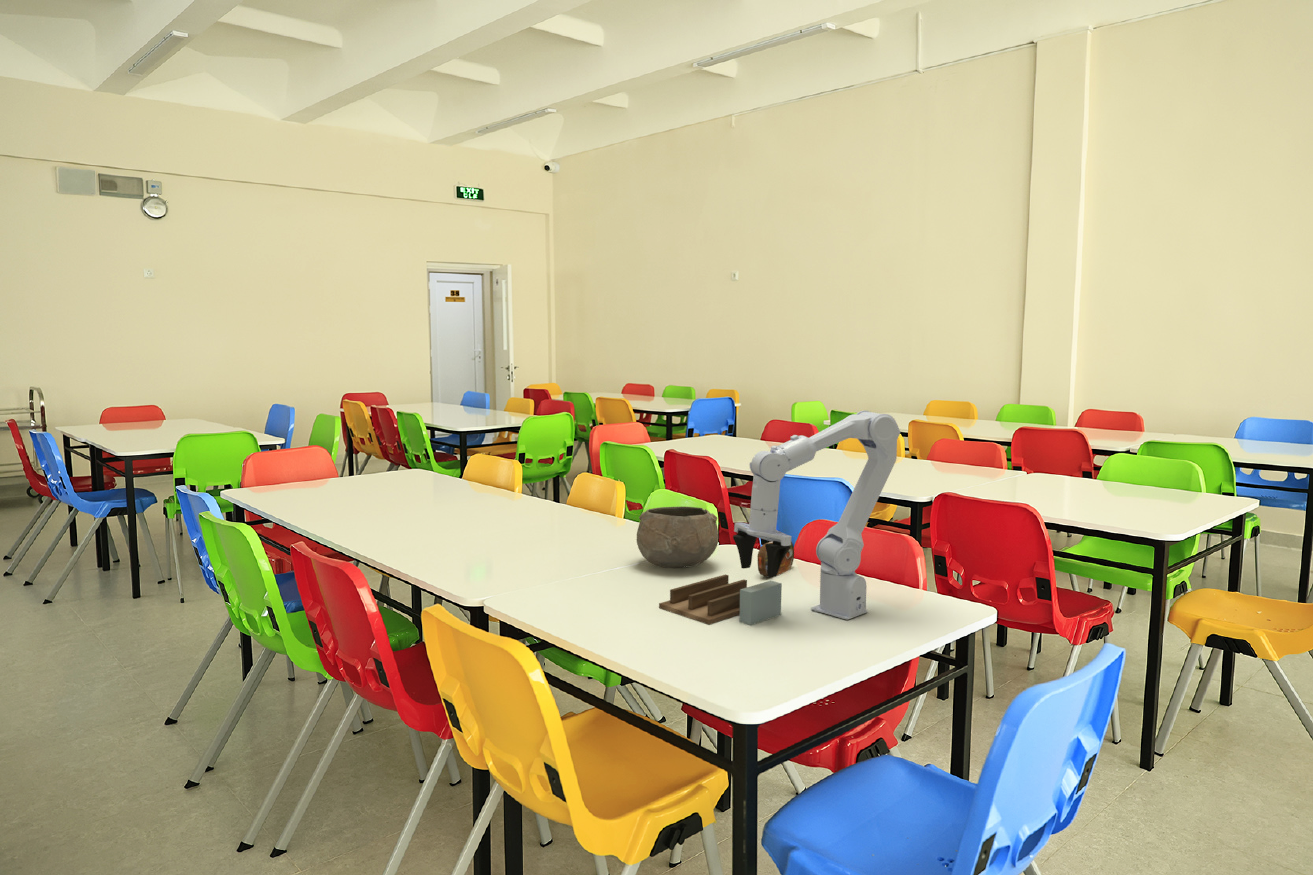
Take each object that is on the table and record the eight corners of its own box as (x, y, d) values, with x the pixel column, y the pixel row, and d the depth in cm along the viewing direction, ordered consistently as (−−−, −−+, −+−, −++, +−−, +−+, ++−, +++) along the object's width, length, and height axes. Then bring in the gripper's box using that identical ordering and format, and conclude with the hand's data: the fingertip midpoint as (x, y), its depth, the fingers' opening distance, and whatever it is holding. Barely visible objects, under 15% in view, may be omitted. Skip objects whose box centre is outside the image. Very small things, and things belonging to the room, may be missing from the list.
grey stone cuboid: (780, 615, 182) (781, 583, 181) (750, 625, 175) (751, 592, 174) (769, 611, 184) (770, 580, 183) (739, 622, 177) (740, 589, 176)
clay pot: (620, 565, 221) (620, 508, 219) (678, 552, 234) (678, 499, 233) (676, 583, 205) (676, 521, 203) (734, 567, 219) (735, 510, 217)
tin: (765, 581, 207) (766, 547, 206) (754, 578, 209) (755, 545, 208) (795, 568, 219) (795, 536, 218) (784, 566, 221) (785, 534, 220)
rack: (776, 602, 190) (776, 585, 190) (709, 624, 175) (709, 605, 174) (726, 588, 201) (726, 571, 200) (659, 607, 186) (659, 590, 185)
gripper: (726, 503, 181) (721, 565, 182) (777, 516, 170) (771, 582, 171) (749, 501, 185) (744, 562, 186) (800, 514, 174) (794, 579, 175)
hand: (758, 572), depth 179 cm, fingers open, 7 cm apart
